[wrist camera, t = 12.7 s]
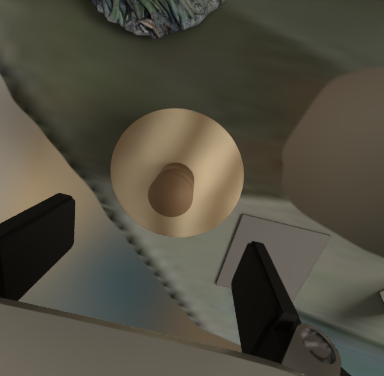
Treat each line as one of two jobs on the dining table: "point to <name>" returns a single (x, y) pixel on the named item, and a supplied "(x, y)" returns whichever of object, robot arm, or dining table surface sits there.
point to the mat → (276, 250)
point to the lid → (177, 172)
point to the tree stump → (156, 14)
